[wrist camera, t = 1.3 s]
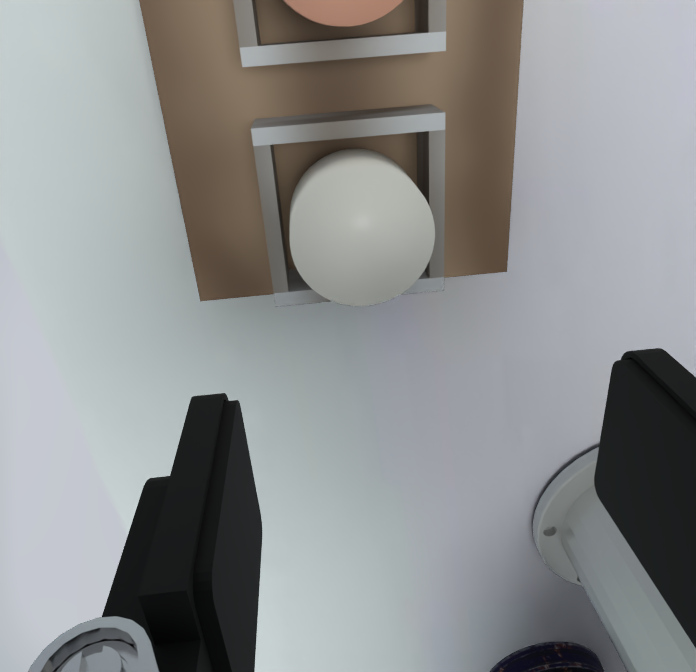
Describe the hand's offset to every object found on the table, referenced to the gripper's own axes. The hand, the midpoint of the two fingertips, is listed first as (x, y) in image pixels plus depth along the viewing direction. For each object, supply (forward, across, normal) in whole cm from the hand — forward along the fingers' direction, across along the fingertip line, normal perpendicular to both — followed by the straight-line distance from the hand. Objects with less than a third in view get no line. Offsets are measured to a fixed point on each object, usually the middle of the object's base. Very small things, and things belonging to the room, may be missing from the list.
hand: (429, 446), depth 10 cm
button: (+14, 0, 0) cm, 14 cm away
